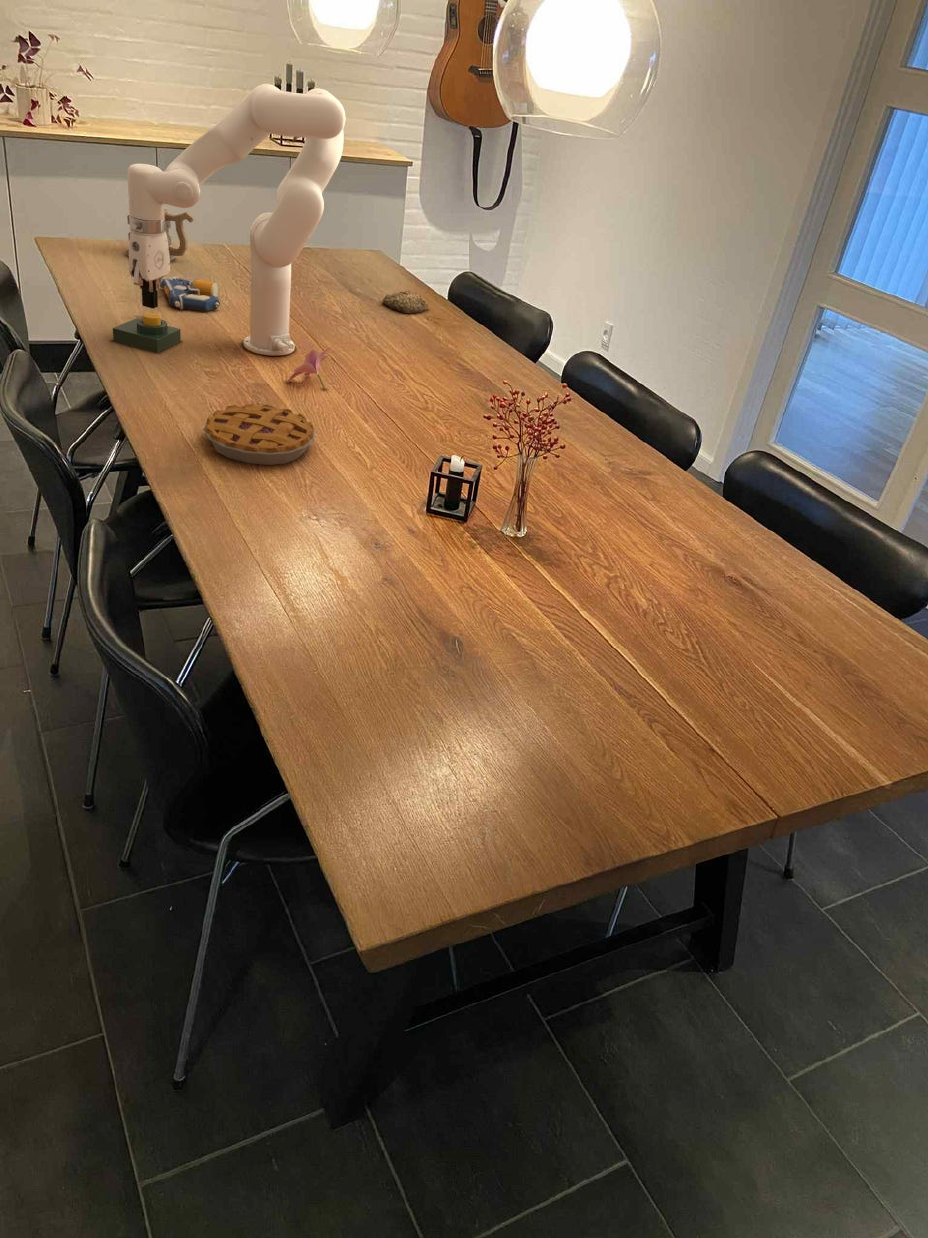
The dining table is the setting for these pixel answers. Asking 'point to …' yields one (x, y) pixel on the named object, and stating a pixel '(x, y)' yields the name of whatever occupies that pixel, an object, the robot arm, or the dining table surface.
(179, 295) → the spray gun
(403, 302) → the bread roll
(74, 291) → the dining table surface
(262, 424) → the pie
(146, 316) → the yellow push button
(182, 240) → the tankard
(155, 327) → the button block
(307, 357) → the lily
